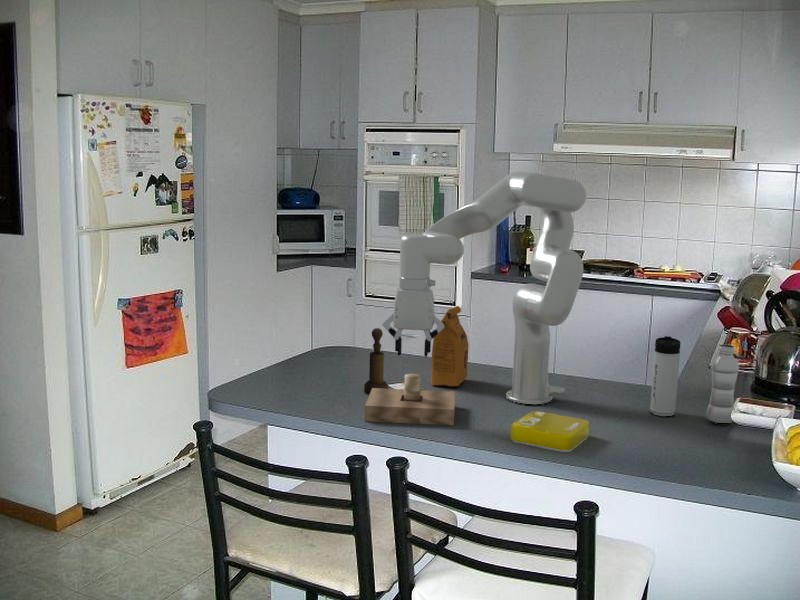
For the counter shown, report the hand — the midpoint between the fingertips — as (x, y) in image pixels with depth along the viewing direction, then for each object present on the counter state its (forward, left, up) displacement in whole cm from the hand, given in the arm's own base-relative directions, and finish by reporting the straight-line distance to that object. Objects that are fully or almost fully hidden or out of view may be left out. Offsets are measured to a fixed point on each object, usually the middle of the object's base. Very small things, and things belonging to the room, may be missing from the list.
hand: (412, 354), depth 220 cm
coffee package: (-9, -31, -16) cm, 36 cm away
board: (0, 0, -16) cm, 16 cm away
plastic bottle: (-78, -4, -16) cm, 80 cm away
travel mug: (-65, -10, -16) cm, 68 cm away
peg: (0, 0, -16) cm, 16 cm away
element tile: (-34, +15, -16) cm, 40 cm away
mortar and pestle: (+11, -18, -16) cm, 26 cm away
